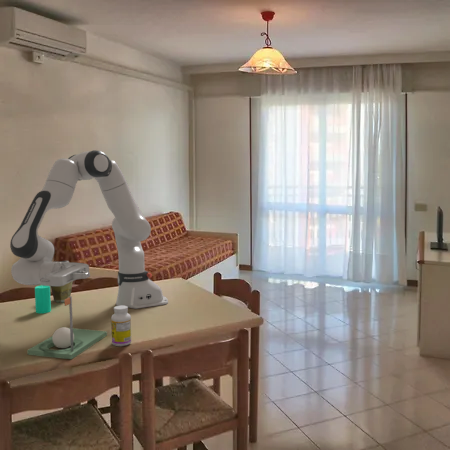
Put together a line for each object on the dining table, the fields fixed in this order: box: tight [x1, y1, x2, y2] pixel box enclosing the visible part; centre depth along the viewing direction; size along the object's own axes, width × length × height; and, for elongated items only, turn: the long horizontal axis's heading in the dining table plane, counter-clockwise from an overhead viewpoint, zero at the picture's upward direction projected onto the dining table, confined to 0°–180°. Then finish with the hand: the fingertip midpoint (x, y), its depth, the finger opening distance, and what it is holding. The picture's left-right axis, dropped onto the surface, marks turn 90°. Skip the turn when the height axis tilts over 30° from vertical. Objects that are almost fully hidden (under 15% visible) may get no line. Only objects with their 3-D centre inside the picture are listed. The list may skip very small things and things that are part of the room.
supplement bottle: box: [110, 305, 132, 347], centre depth 187 cm, size 7×7×13 cm
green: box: [27, 296, 108, 360], centre depth 185 cm, size 24×16×20 cm, turn 165°
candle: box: [34, 284, 52, 314], centre depth 226 cm, size 6×6×12 cm
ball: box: [51, 326, 74, 350], centre depth 183 cm, size 7×7×7 cm
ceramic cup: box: [50, 281, 74, 303], centre depth 244 cm, size 13×10×10 cm
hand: (88, 275), depth 195 cm, fingers closed
